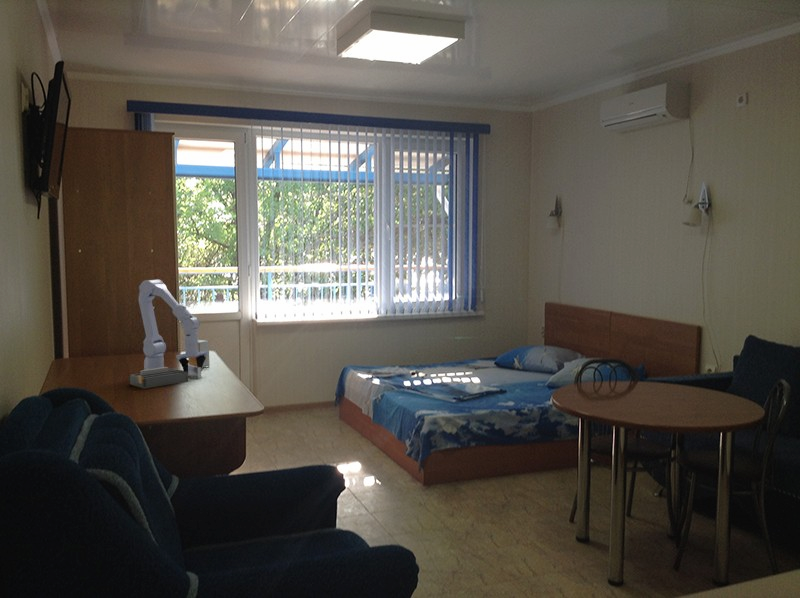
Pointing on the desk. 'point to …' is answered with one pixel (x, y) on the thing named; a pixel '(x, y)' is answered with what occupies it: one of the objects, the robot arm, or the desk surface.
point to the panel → (194, 371)
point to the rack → (158, 377)
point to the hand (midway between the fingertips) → (192, 373)
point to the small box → (202, 347)
